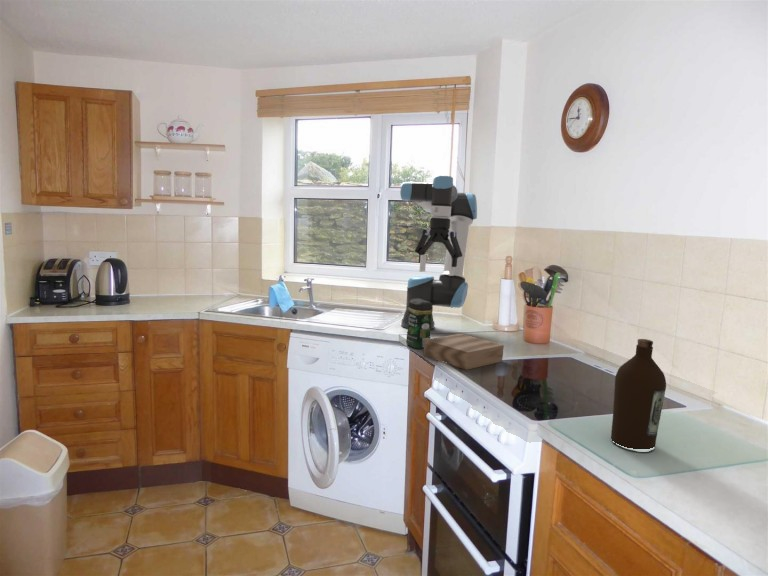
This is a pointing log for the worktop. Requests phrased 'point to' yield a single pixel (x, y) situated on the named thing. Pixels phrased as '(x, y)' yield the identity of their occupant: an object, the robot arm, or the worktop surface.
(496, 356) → the block
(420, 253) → the robot arm
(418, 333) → the coffee jar
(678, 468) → the worktop surface
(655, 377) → the olive oil
